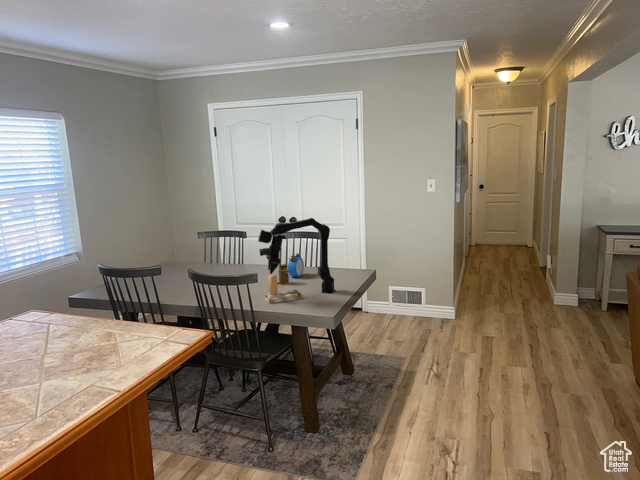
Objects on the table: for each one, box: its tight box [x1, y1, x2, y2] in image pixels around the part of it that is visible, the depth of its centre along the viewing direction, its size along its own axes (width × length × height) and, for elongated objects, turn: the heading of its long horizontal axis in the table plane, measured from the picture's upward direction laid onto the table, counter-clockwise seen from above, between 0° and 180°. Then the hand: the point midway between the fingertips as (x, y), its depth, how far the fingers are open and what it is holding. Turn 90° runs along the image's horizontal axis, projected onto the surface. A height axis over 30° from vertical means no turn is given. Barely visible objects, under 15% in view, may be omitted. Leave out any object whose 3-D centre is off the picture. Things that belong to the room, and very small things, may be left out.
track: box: [264, 289, 304, 304], centre depth 263 cm, size 20×9×3 cm, turn 111°
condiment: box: [277, 263, 292, 287], centre depth 294 cm, size 7×8×12 cm
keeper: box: [266, 274, 280, 298], centre depth 260 cm, size 6×6×12 cm
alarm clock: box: [287, 253, 305, 278], centre depth 310 cm, size 13×6×15 cm, turn 157°
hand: (269, 271), depth 264 cm, fingers open, 9 cm apart
